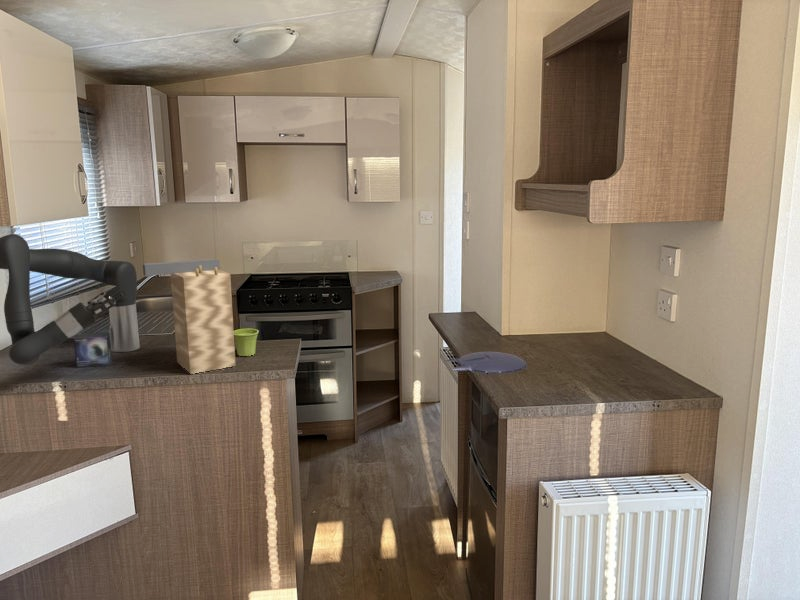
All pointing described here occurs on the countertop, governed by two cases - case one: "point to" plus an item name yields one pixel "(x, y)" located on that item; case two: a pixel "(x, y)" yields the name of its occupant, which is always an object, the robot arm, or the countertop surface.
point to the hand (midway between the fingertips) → (121, 290)
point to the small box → (92, 349)
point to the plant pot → (245, 341)
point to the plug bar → (179, 266)
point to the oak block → (203, 320)
